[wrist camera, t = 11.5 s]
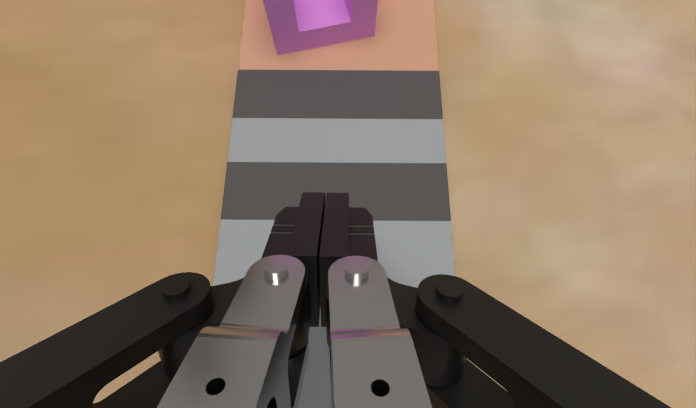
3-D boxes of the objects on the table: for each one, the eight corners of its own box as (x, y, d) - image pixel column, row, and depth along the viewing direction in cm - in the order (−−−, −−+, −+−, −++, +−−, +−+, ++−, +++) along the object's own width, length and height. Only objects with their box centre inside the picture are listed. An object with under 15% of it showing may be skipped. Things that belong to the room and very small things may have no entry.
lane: (189, 520, 14) (164, 551, 12) (261, -122, 25) (254, -158, 23) (472, 522, 14) (491, 554, 12) (422, -121, 25) (428, -157, 23)
